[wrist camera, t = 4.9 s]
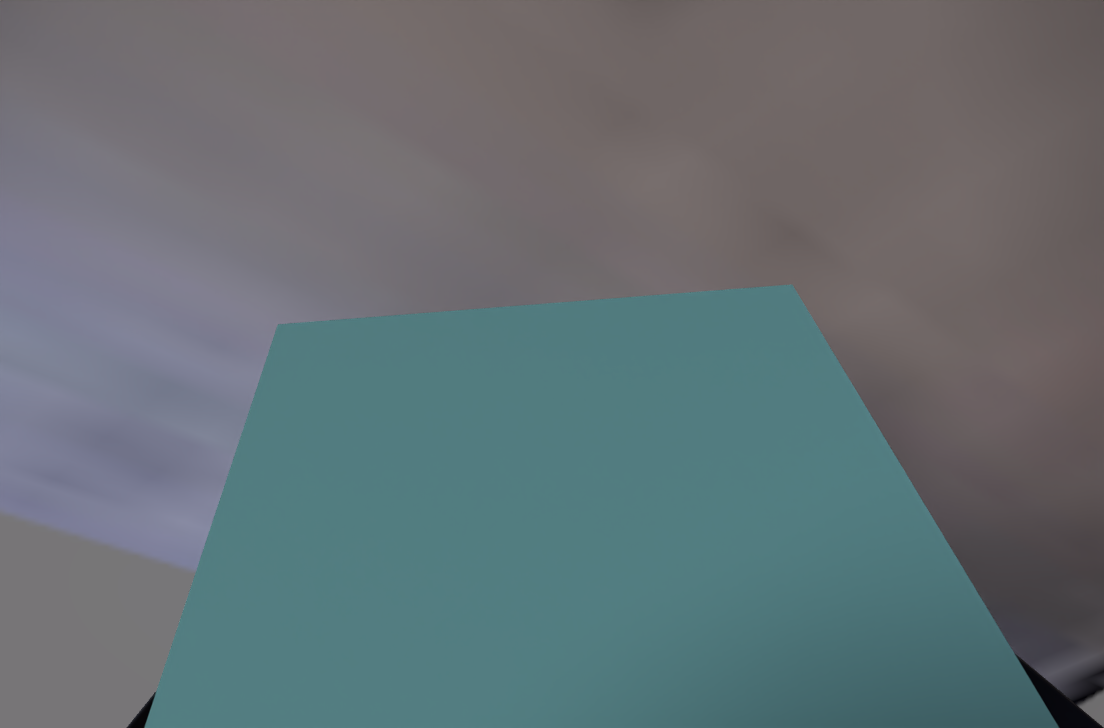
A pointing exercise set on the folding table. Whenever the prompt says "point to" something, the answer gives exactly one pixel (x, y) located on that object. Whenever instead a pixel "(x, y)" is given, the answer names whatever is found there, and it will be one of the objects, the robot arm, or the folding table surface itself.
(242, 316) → the folding table surface
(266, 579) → the teal block
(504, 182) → the folding table surface
